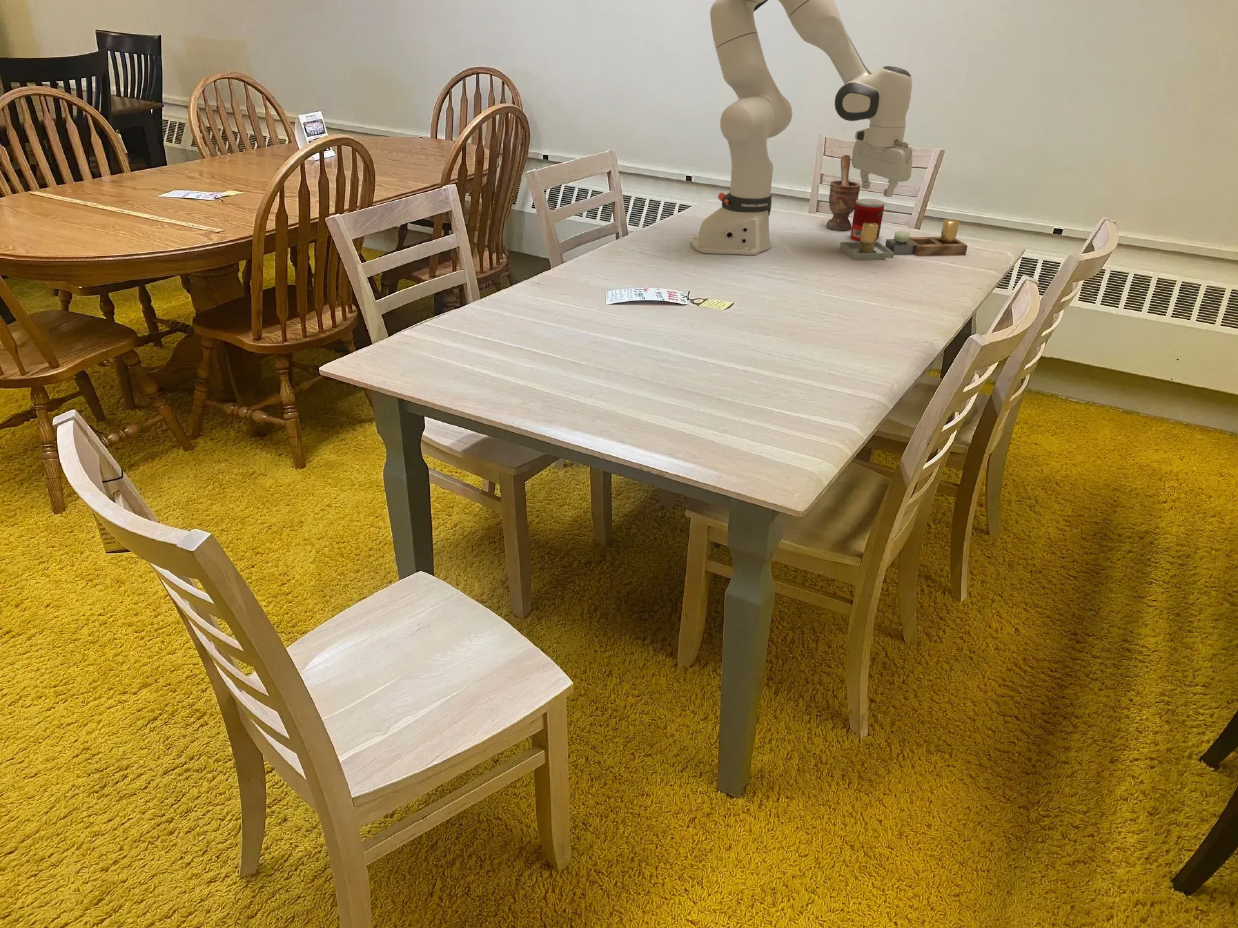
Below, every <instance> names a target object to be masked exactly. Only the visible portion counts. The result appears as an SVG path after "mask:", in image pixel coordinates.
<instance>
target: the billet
mask: <svg viewBox="0 0 1238 928" xmlns="http://www.w3.org/2000/svg"><path fill="white" fill-rule="evenodd" d="M877 230H878V224H876V223H870V222H867V223H863V228H862V234H861V240H860V241H859V242H860V246H859V252H858V253H874V251H875V242H876V241H877V240H876V236H877Z"/></svg>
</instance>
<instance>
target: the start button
mask: <svg viewBox="0 0 1238 928" xmlns="http://www.w3.org/2000/svg"><path fill="white" fill-rule="evenodd" d="M893 237H894V238H893V239H894V240H895V241H898V244H902V243H904V242H908V241H909V238H910V237H911V233H910V232H908V231H903V230H902V231H895V232H894V236H893Z"/></svg>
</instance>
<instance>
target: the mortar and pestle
mask: <svg viewBox="0 0 1238 928" xmlns="http://www.w3.org/2000/svg"><path fill="white" fill-rule="evenodd" d="M850 168H851V156H850V154H849V155H847V154H845V155H844V154H843V155H842V156H841V158H840V173H841V174H840V175H841V180H832V181H831V182H830V187H829V196H828V202H829V203H828V204H829V205H828V206H829V210H830V212H831V213H832V215H833V216H832V218H831V219H829V220H828V221H827V223H826V228H828V229H830V230H833V231H837V232H839V231H840V232H841V231H848V230H850V231H851V229H852V223H851V221H850V219H849V216H850V215H851V214H852V213H854V209H855V203H856V200H858V199H859V194H860V190H861V184H860V183H859V182H856V181H850V180H849V177H850V176H849V174H850V173H849V172H850Z"/></svg>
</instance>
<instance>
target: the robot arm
mask: <svg viewBox="0 0 1238 928" xmlns="http://www.w3.org/2000/svg"><path fill="white" fill-rule="evenodd" d="M768 1H769V0H715V1H714V2H713V3H712V6H711V7H710V10H709V11H710V12H709V15H710V17H709V18H710V26H711V33H712V38H713V43H714V44H713V45H714V47H715V51H716V55H717V60H718V63H719V66H720V69H721V73H722V77H723V79H724V82H725V83H726V84H727V85H728V86H729V87H731V89H732V90H733V91H734V93H735V95H736V97H737V98H738V99H737V100H735V101H734V102H732V103H731V104H730V105H728V106H727V107H726V108H725V109H724V110H723V112H722V113H721V117H720V120H719V125H720V132H721V134H722V135H723V137H724V138H725V139H726V141H727V143H728V149H729V152H730V159H731V171H730V186H729V187H730V188H729V189H730V190H729V192H728V193H727V194H725V193H724V192H719V193H718V195H717V198H718V200H719V201H720V202H721V207H720V208H718V209H717V210H716V211H714V212H713V213H712V214H710V215H709V216H707V217H705V218H704V219H703V220H702V223H701V224H700V228H699V232H698V235H693V236H692V237H691V238H690V245H691V247H692V249H694V250H695V251H697V252H699V253H702V254H720V255H745V256H746V255H748V256H749V255H750V256H755V255H758V254H759V253H761V252H764V251H768V250H769V249H771V247H772V243H771V237H770V223H769V221H770V215H771V211H772V205H773V204H772V201H773V200H772V198H773V195H772V194H771V192H772V182H773V172H774V165H773V162H772V161H771V159H770V157H769V154H768V147H767V145H768V144H767V143H768V142H767V141H768V139H769V138H770V139H771V138H774V137H776V136H778V135H780V134H781V133H782V132H783V131H785V130H787V128H788V127H789V125H790V123H791V121H792V118H793V107H792V105H791V103H790V101H789V100H788V99H787V97H785V96H784V95H783V94H782V93H781V91H780V90H779V88H778V86H777V84H776V82H775V80H774V78H773V76H772V75H771V73H770V69H769V67H768V66H767V63H766V60H765V56H764V53H763V49H762V45H761V42H760V37H759V35H758V29H757V26H756V23H755V18H754V17H755V16H754V13H755V12H756V11H757V10H758V9H760V7H762V6H763V5H765V4H766V3H767V2H768ZM777 1H778V2H779V3H780V5H781V6H782V7H783V9H784V11H785V13H786V15H787V17H788V20H789V21H790V24H791V25H792V27H793V29H794V30H795V32H796V33H797V34H798V36H799V37H800V38H801V39H802V40H803V41H804V42H806V43H807V44H809V45H812V46H814V47H816V48H818V49H820V50H821V51H823V52H824V53H825V54H826V55H827V56H828V57H829V59H830V61H831V63H832V64H833V66H834V68H835V70H836V71H837V73H838V75H839V76H840V78H841V80H842V82H843V85H842V86H841V87H839V89H838V91H837V93H836V94H835V97H834V108H835V111H836V113H837V115H838V116H839V117H840V118H841V119H843V120H845V121H848V122H856V121H857V122H858V121H862V120H863V121H864V120H869V127H867V128H864V129H861V130H857V131H856V132H855V133H854V134H855V135H854V139H855V140H856V141H855V142H854V144H853V148H852V149H853V150H852V153H851V154H852V155H851V164H852V168H853V169H856V170H859V175H860V179H861V184H860V189H861V188H862V189H863V190H864V189H865V190H869V189H870V187H871V184H872V182H871V181H870V180H869V175H870V174H872V175H876V176H878V177H881V178H883V179H884V178H885V179H888V180H887V183H888V186H887V187H886V188H885V189H884V190H883V196H884V197H887V198H892V197H893V195H894V191H895V189H896V188H897V186H898V185H899V183H903V182H908V181H909V180H910V178H911V175H912V169H913V149H912V147H911V145H910V143H908V142H906V141H904V137H905V131H906V126H907V125H906V124H907V120H906V119H907V118H906V116H907V112H908V110H909V109H910V108H909V107H910V103H911V97H912V96H911V95H912V87H913V79H912V75H911V74H910V72H909V71H908V70H906V69H904V68H901V67H897V66H892V65H888V66H887V65H886V66H882V67H881V68H880V69H878V70H876V71H874V72H871V71H870V70H869V69H868V68H867V67H866V65H865V63H864V62H863V60H862V57H861V56H860V54H859V53H858V51H857V49H856V47H855V46H854V44H853V42H852V39H851V38H850V37H849V35H848V33H847V30H846V28H845V26H844V25H845V24H844V23H843V19H841V16H840V12H839V10H838V8H837V5H836V3H835V1H834V0H777Z"/></svg>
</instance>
